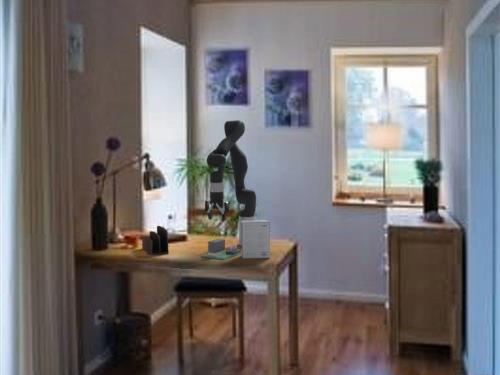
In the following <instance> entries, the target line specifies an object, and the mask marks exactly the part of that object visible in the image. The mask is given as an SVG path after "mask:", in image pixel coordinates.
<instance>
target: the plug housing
mask: <svg viewBox="0 0 500 375" xmlns="http://www.w3.org/2000/svg"><path fill="white" fill-rule="evenodd" d="M224 250H226V239H223V238H217V239H212V240H208V241H207V254H208V253H218V252H221V251H224Z"/></svg>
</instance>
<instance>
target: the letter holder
mask: <svg viewBox="0 0 500 375" xmlns="http://www.w3.org/2000/svg"><path fill="white" fill-rule="evenodd" d="M168 233H169V232H168V229H166V228H165V227H163V226H161V225H157V226H156V231H153V230H150V231H149V236H147V235H142V239H141V240H142V241H141V242H142V243H141V244H142V245H141V249H142V250H144V251H145V252H146V253H148V254H149V255H151V256H161V255H168V254H169V253H170V252H169V235H168Z"/></svg>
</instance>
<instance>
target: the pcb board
mask: <svg viewBox="0 0 500 375" xmlns="http://www.w3.org/2000/svg"><path fill="white" fill-rule="evenodd" d="M237 246H238V245H237V243H235V244H232V245H229V249H227V250H226V249H225V250H224V251H221V252H218V253H208V252H207V253H205V254H203V255H201V257H202V258H205V257H206V258H207V259H213V258H214V259H213V260H220V259H221V260H220V261H225V260H227V259H231V258H233V256H234V257H237V256H239V255H242V249H241V248H238V247H237ZM236 255H237V256H236ZM230 257H231V258H230Z"/></svg>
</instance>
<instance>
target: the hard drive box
mask: <svg viewBox="0 0 500 375" xmlns="http://www.w3.org/2000/svg"><path fill="white" fill-rule="evenodd" d="M270 230H271V223H270V220H269V219H265V220H263V219H260V220H259V219H257V220H256V219H254V220H247V221H241V235H242V245H241V259H270V258H271V241H270V240H271V233H270V232H271V231H270Z"/></svg>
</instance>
